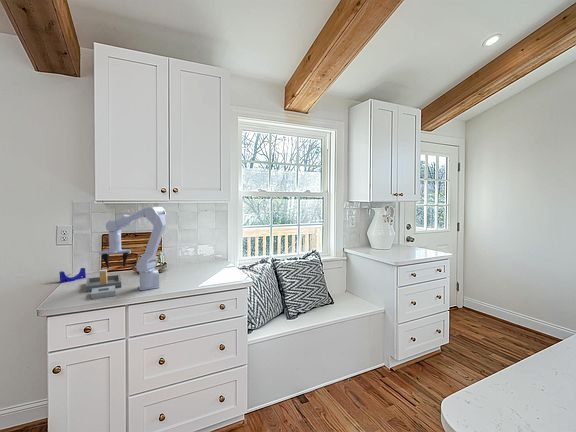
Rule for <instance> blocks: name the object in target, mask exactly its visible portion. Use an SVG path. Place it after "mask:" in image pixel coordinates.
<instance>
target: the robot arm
mask: <svg viewBox="0 0 576 432" xmlns="http://www.w3.org/2000/svg"><path fill="white" fill-rule="evenodd" d="M166 216H167V212H166V210H165V208H164V207H162V206H161V205H157V206H148V207H144V208H142V209H140V210H138V211H136V212H134V213H132V214H130V215H129V214H122V215H121V216H120V217H115V218H114V220H108V221H107V222H106V224H105V229H106V230H107V231H108V246H109V247H108V248H109V250H100V251H99V256H101V258H102V260H103V261H104V263H105V266H106V269H109V268H110V255H121V254H122V267H123V268H125V267H126V262H127V259H128V257H129V254H131V253H132V250H131V249H122V230H123V229H124V228H126V227H129V226H131V225H132V224H133V222H134V221H136V220H139V219H142V218H146V219H147V220H148V221H149V222H150V223H151V224H152V226H153V227H152V231H151V234H150V237H149V239H148V242H147V244H146V247H145V251H144V253H143V254H142V255H141V257H139V258H140V259H138V261H137V262H136V265H135V268H136V270H137V272H138V274H139V285H138V288H139V291H145V290H146V291H147V290H151V289H158V288H160V273H159V270H157V269H155V268H156V267H157V266H158V256H157V252H158V249H159V247H160V246H159V245H160V243H161V240H162V237H163V235H164V231H165V229H166V227H167V222H166Z"/></svg>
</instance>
